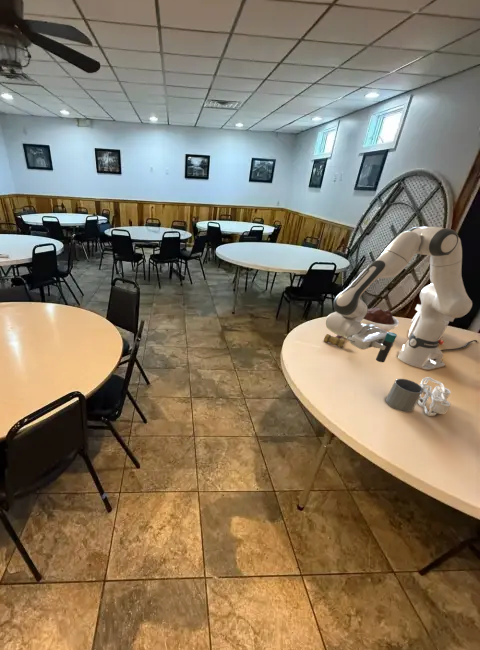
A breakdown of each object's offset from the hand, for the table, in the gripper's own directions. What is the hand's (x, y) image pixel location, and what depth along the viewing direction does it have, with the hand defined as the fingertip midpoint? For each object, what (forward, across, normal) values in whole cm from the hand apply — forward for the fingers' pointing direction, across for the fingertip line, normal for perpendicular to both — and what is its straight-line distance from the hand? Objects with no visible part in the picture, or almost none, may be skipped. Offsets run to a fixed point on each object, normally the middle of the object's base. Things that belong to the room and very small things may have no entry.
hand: (388, 346), depth 130 cm
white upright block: (-21, +90, +21) cm, 95 cm away
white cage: (+19, +13, +21) cm, 31 cm away
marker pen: (-1, 0, +7) cm, 7 cm away
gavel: (-39, +29, +21) cm, 53 cm away
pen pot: (+13, 0, +21) cm, 24 cm away
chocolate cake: (-39, +62, +21) cm, 76 cm away
